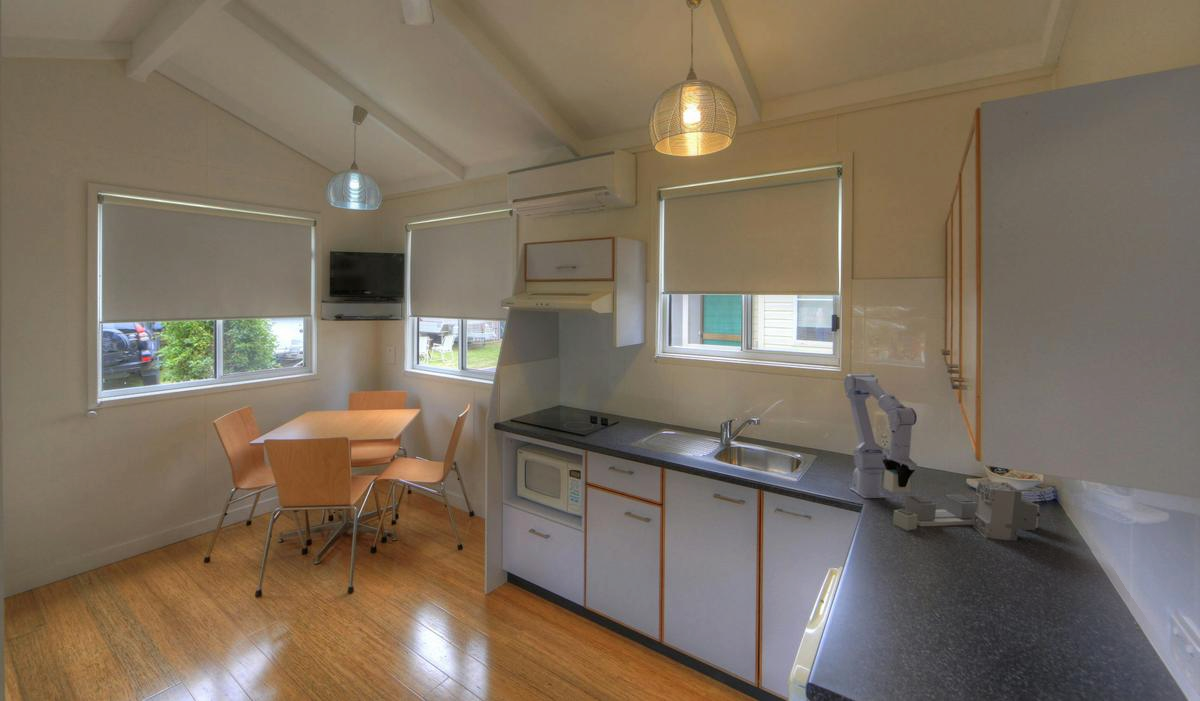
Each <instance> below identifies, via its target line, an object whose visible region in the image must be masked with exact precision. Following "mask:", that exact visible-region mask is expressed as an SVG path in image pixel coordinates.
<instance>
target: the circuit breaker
mask: <svg viewBox="0 0 1200 701" xmlns="http://www.w3.org/2000/svg"><path fill="white" fill-rule="evenodd" d="M977 483H978V484H977V486H976V495H977V496H978V504H977V512H976V513H974V524H973V526H972V527H973V529H974V530H976V531H977V532H978V533H979V534H980V535H982V536H983V537H984V538H985V539H994V540H1004V541H1012V542H1013V541H1014V542H1015V541H1018V532H1019V530H1024V529H1027V530H1029V531H1035V530H1036V528H1035V527H1036V518H1037V516H1039V517H1040V512H1039V513H1038V512H1037V508H1038V506H1037V505H1038V504H1037V503H1034V502H1033V501H1032V500H1030V499H1028V498H1026V497H1025V496H1023V494H1022V491H1021V490H1019V489H1017V488H1016V487H1014V486H1013V485H1011V484H1010V483H1008V482H1003V481H1002V482H999V481H988V480H987V481H986V480H978V482H977ZM1036 504H1037V505H1036ZM976 519H978V521H976ZM1027 530H1026V531H1027Z"/></svg>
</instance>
